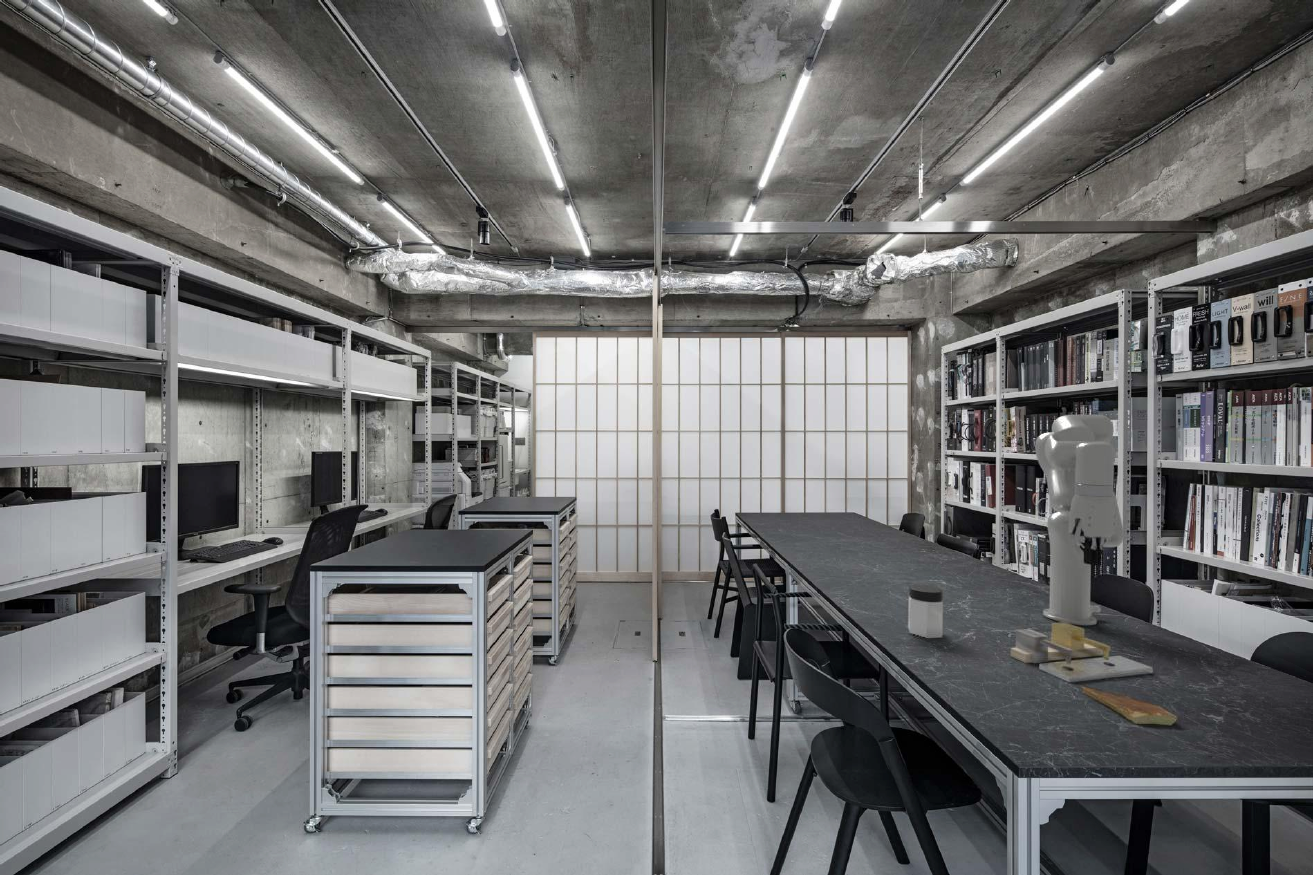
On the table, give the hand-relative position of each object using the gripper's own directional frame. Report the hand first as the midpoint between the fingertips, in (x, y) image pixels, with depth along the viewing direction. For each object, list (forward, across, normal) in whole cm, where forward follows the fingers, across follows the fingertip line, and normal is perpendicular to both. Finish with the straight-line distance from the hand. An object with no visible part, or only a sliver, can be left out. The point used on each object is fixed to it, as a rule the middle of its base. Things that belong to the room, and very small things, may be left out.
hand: (1092, 564), depth 139 cm
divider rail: (+21, +13, +6) cm, 26 cm away
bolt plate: (+21, +14, +11) cm, 27 cm away
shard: (+21, +28, +27) cm, 44 cm away
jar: (+21, +34, -18) cm, 44 cm away
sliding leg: (+19, +10, +6) cm, 22 cm away
